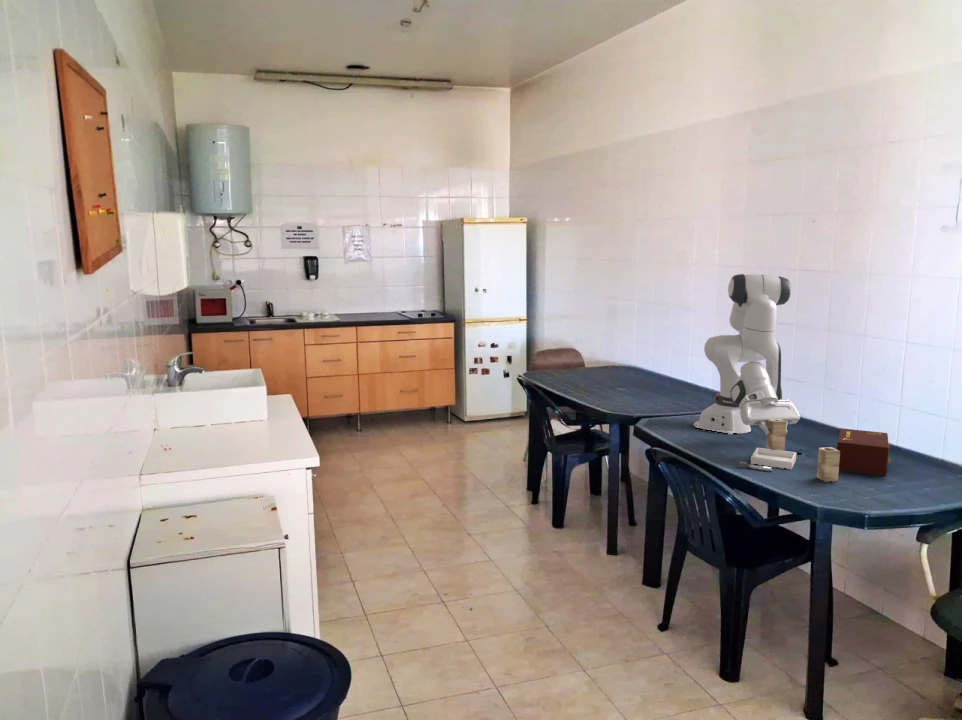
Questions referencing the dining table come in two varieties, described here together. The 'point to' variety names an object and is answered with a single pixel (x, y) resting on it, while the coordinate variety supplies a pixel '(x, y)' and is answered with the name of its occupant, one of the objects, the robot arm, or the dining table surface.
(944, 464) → the dining table surface
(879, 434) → the box
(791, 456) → the tray
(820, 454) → the large-bore block
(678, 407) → the dining table surface
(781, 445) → the small-bore block
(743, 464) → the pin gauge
